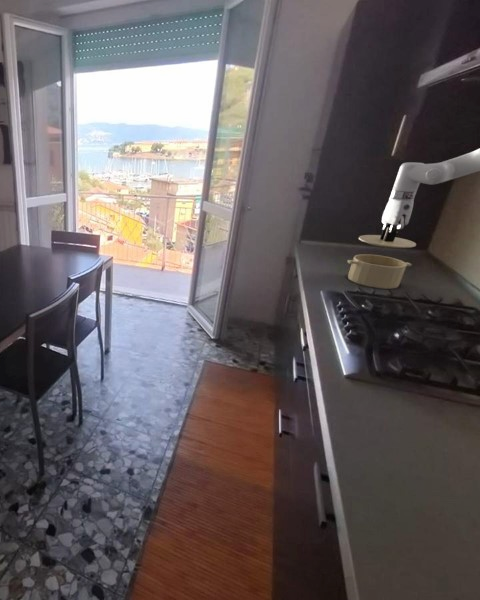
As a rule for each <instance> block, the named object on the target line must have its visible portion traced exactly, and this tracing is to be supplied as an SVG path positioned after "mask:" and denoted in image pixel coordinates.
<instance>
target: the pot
mask: <svg viewBox="0 0 480 600" xmlns="http://www.w3.org/2000/svg"><path fill="white" fill-rule="evenodd" d="M347 263H348V264H349V265H350V268H349V272H348V274H347V278H348V280H349V281H351V282H352V283H353V282H354V283H355V284H358V285H361V286H365V287H370V288H376V289H386V290H387V289H397V288H398V287H399V286H400V284H401V282H402V280H403V276H404V274H405V271H406V269H407V267H412V265H413V264H412V263H410V262H408V261H407V262H405V261H403V260H402V259H398V258H395V257H390V256H385V255H379V254H370V253H369V254H355V255H354V256H353V259H347ZM379 265H380V266H379Z"/></svg>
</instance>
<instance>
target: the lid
mask: <svg viewBox="0 0 480 600" xmlns="http://www.w3.org/2000/svg"><path fill="white" fill-rule="evenodd" d="M394 227H395V226H394ZM394 227H393V228H394ZM389 229H390V227H387V230H386V233H385V235H384V238H383V240H381V239H380V237H381V234H364V235H359V236H358V240H359V241H361V242H363V243H367V244H368V245H371V246H376V247H384V248H391V249H393V248H394V249H409V248H414V247H416V246H417V243H416V242H415V241H412V240H409V239H406V238H402V237H396V236H395V239H394V241H393V242H387V241H384V240H385V237H386V235H387V232H389Z"/></svg>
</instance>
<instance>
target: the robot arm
mask: <svg viewBox="0 0 480 600" xmlns="http://www.w3.org/2000/svg"><path fill="white" fill-rule="evenodd" d="M477 172H480V148H477V149H475V150H473V151H470V152H468V153H465V154H462V155H459V156H457V157H453V158H450V159H448V160H447V159H446V160H443V161H441V162H435V163H424V162H415V161H414V162H412V161H411V162H410V161H409V162H408V161H407V162H403V163H402V164H401V165H400V166H399V169H398V171H397V175H396V176H395V177H396V178H395V181H394V184H393V187H392V190H391V192H390V196H389V198H388V202H387V203H386V205H385V208H384V210H383V212H382V216H381V223H382V225H383V227H382V232H381V234H380V235H381V237H380V239H381V240H383V238H384V235H385V233H386V230H387V227H390V229H389V232H387V235H386V237H385V240H384V241H387V242H393V241H394V239H395V237H396V236H397V233H399V231H400V230H402V229H404V227H405V226H407V225H408V224H409V223H410V219H411V216H412V213H413V208H414V201H415V197H416V195H417V192H418V189H419V187H420V184H423V185H424V184H426V185H438V184H442V183H445V182H449V181H451V180H455V179H458V178H461V177H465V176H467V175H468V176H469V175H471V174H474V173H477ZM393 227H394V228H393Z"/></svg>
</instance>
